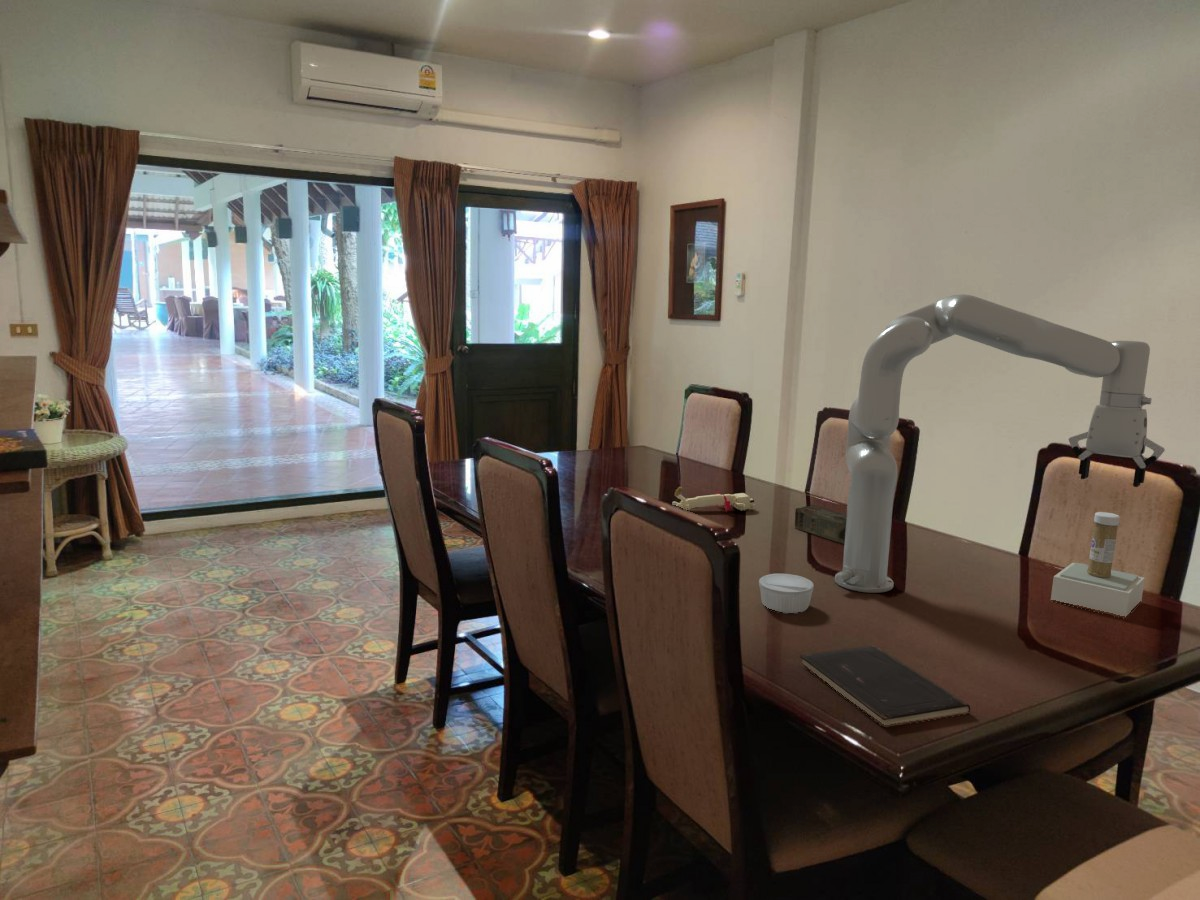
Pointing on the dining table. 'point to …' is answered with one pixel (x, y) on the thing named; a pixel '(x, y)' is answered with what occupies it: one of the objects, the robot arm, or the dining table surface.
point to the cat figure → (715, 501)
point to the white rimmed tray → (1098, 589)
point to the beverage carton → (821, 522)
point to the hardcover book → (883, 685)
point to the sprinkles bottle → (1103, 544)
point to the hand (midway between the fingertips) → (1110, 482)
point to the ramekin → (786, 592)
